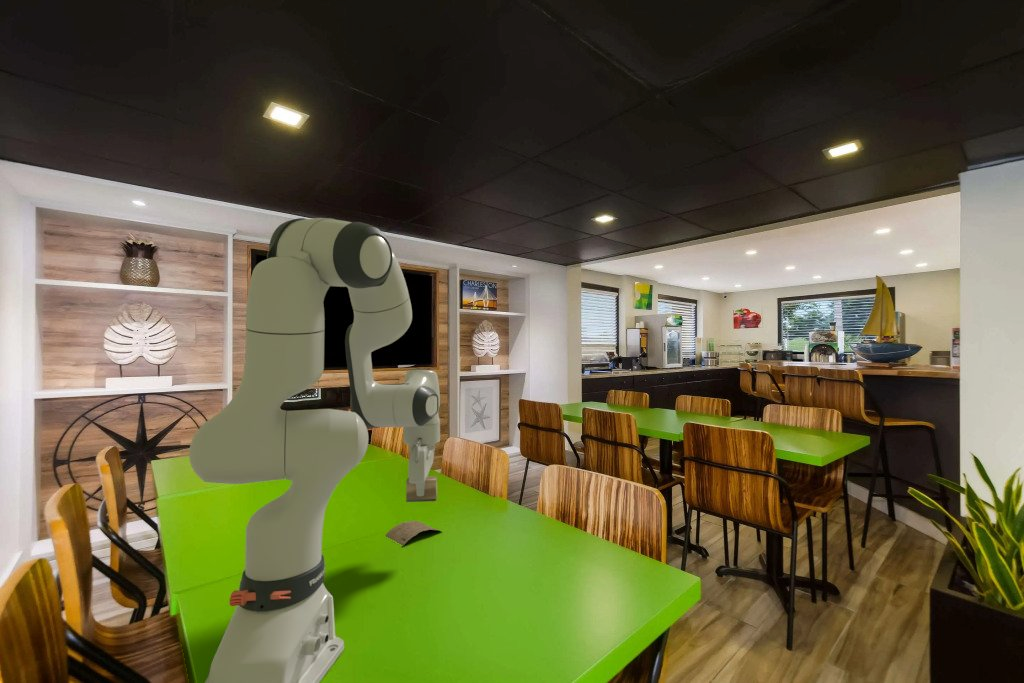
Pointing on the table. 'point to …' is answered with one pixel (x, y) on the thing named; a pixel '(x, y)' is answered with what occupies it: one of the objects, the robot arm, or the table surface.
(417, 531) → the clay tablet
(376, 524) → the table surface
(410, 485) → the block
